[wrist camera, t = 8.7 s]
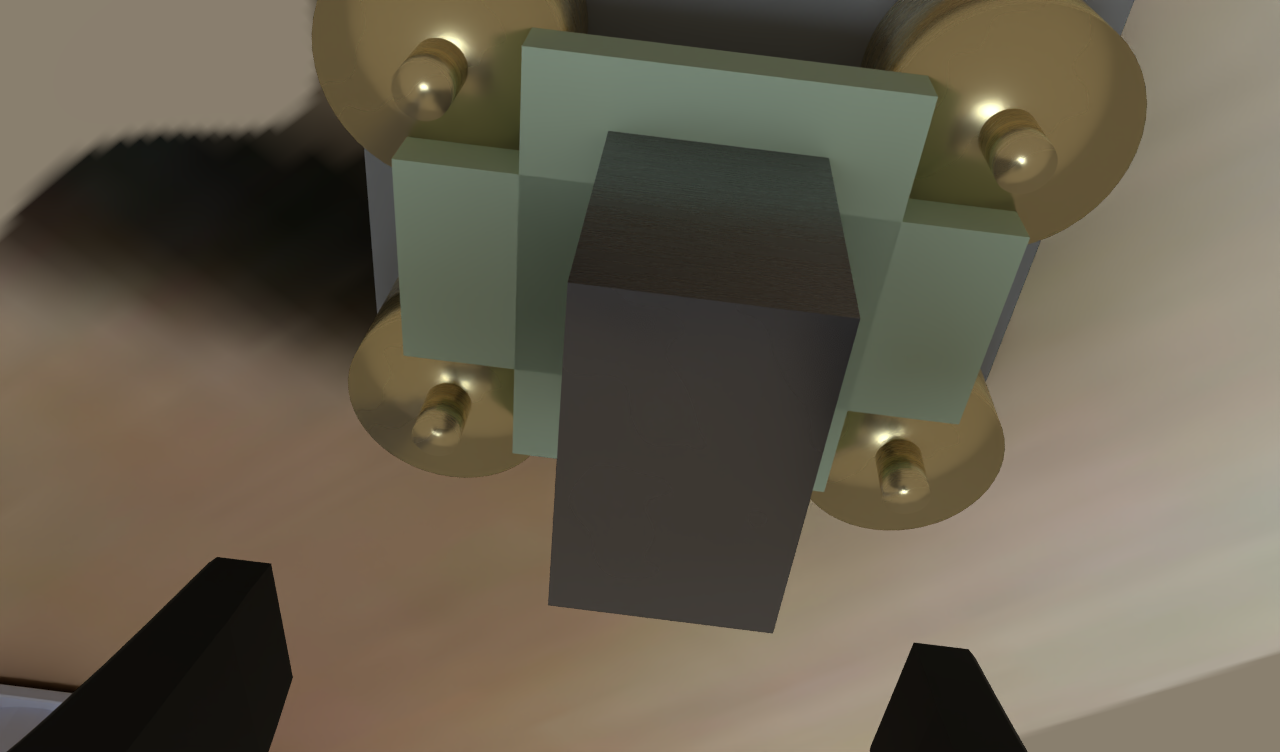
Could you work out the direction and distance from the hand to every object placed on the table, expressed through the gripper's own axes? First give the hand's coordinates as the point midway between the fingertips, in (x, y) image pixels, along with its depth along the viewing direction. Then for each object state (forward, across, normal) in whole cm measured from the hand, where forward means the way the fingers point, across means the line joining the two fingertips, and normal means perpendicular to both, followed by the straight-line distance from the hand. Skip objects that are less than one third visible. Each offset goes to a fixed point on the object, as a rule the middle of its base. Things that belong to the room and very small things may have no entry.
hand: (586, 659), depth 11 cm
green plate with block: (+6, -1, -2) cm, 7 cm away
